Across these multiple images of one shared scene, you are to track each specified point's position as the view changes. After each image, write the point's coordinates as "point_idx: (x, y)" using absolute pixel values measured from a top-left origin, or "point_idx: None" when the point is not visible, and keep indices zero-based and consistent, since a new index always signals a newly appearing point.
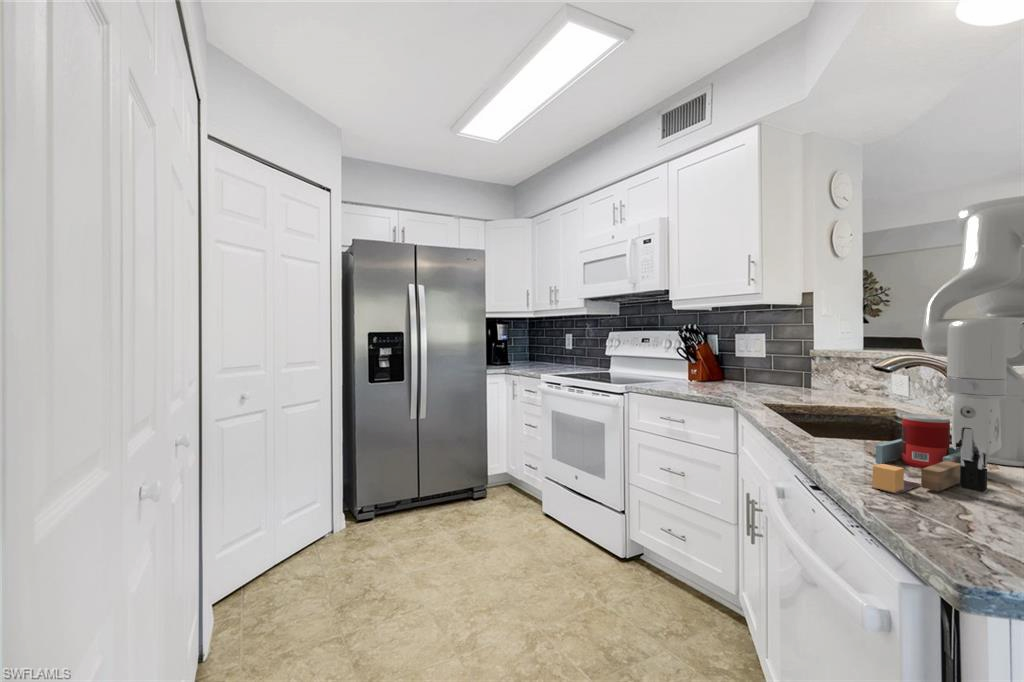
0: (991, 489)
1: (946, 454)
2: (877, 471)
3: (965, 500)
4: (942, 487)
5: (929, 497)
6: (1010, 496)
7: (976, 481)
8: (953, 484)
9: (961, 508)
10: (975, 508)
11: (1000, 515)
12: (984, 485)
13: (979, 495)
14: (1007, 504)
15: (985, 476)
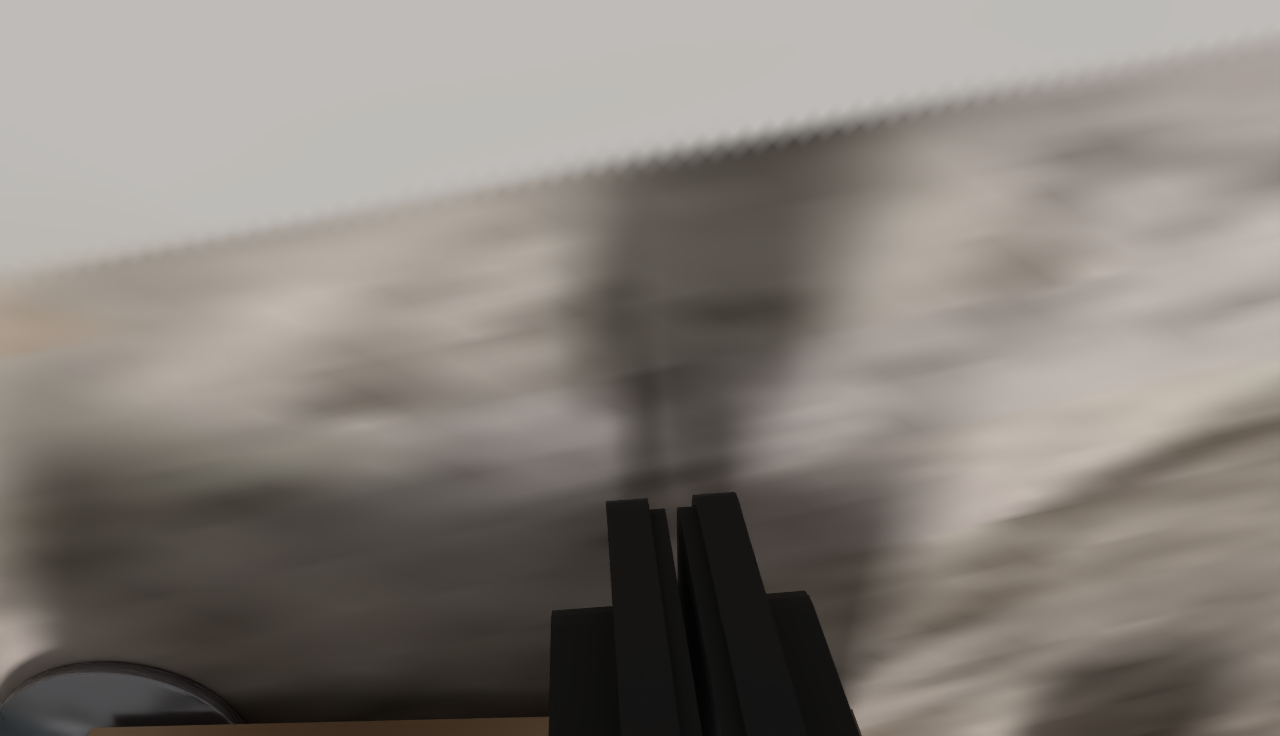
0: (4, 504)
1: None
2: None
3: (844, 517)
4: None
5: (1005, 683)
6: (117, 307)
7: (825, 647)
8: (428, 726)
9: (1210, 460)
10: (1108, 392)
11: (1228, 179)
12: (750, 552)
13: (473, 501)
14: (609, 240)
15: (750, 663)
